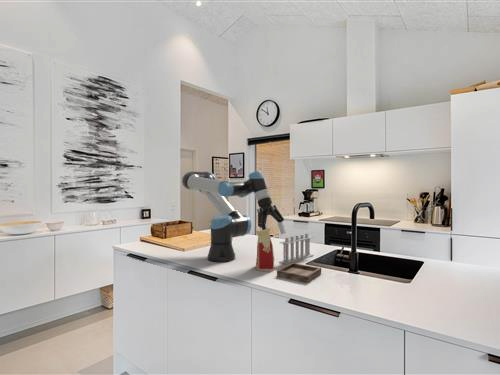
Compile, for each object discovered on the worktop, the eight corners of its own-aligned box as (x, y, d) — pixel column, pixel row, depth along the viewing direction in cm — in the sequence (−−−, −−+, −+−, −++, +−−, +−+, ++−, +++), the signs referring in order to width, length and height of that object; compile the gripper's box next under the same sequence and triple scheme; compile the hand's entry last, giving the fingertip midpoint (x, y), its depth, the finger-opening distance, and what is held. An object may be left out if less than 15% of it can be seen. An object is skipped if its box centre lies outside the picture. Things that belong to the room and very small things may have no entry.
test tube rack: (285, 264, 152) (285, 239, 152) (279, 263, 155) (279, 238, 155) (313, 256, 169) (313, 233, 169) (307, 254, 172) (307, 232, 172)
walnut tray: (276, 276, 133) (277, 270, 133) (292, 268, 146) (292, 262, 145) (307, 283, 125) (307, 276, 125) (321, 273, 137) (321, 268, 137)
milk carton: (272, 265, 151) (272, 226, 150) (274, 270, 142) (274, 229, 141) (254, 265, 151) (254, 226, 150) (255, 271, 141) (255, 229, 141)
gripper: (253, 198, 149) (267, 239, 145) (281, 194, 168) (294, 230, 164) (243, 203, 153) (256, 242, 149) (272, 198, 172) (284, 233, 168)
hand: (276, 236), depth 156 cm, fingers open, 13 cm apart
